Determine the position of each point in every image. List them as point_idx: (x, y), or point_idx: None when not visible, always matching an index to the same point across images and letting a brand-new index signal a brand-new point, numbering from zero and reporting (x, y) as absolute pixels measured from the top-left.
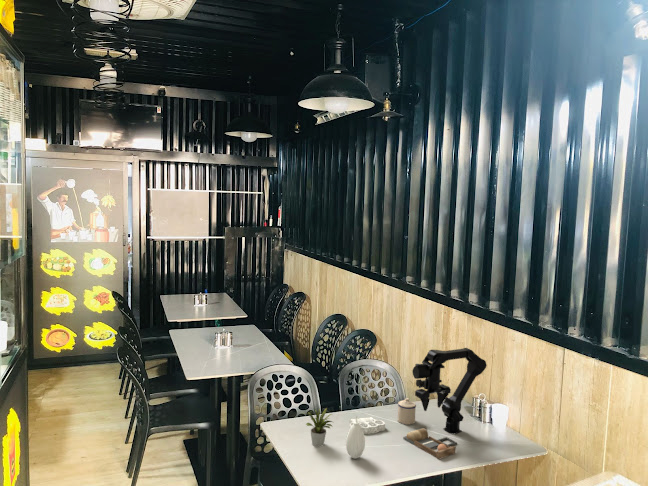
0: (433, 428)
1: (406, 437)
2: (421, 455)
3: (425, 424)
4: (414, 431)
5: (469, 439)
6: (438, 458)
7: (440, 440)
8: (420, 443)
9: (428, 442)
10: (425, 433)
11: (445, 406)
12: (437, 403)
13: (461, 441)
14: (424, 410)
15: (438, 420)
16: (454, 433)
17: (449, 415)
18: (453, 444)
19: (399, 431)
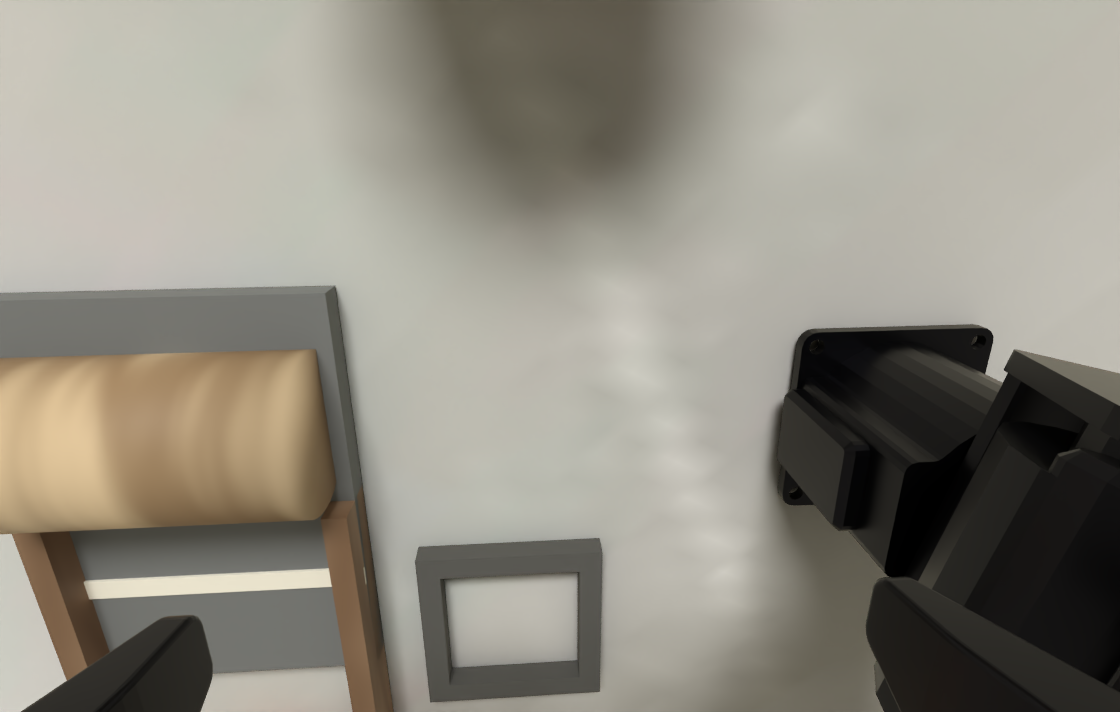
0: (711, 229)
1: (7, 338)
2: (11, 701)
3: (726, 34)
4: (20, 484)
5: (819, 649)
6: None
7: (469, 572)
8: (62, 621)
9: (245, 585)
10: (259, 522)
11: (1100, 667)
12: (967, 659)
13: (699, 647)
14: (164, 635)
15: (1056, 24)
16: (803, 500)
17: (881, 679)
18: (534, 688)
19: (76, 20)
